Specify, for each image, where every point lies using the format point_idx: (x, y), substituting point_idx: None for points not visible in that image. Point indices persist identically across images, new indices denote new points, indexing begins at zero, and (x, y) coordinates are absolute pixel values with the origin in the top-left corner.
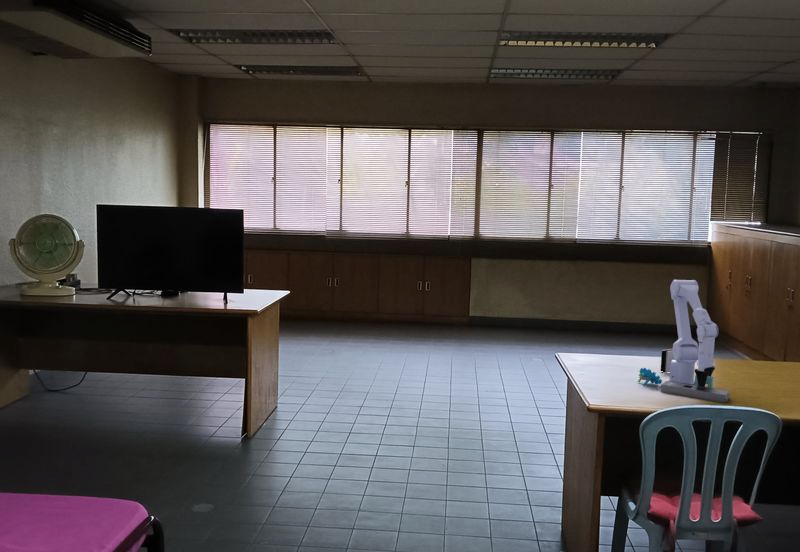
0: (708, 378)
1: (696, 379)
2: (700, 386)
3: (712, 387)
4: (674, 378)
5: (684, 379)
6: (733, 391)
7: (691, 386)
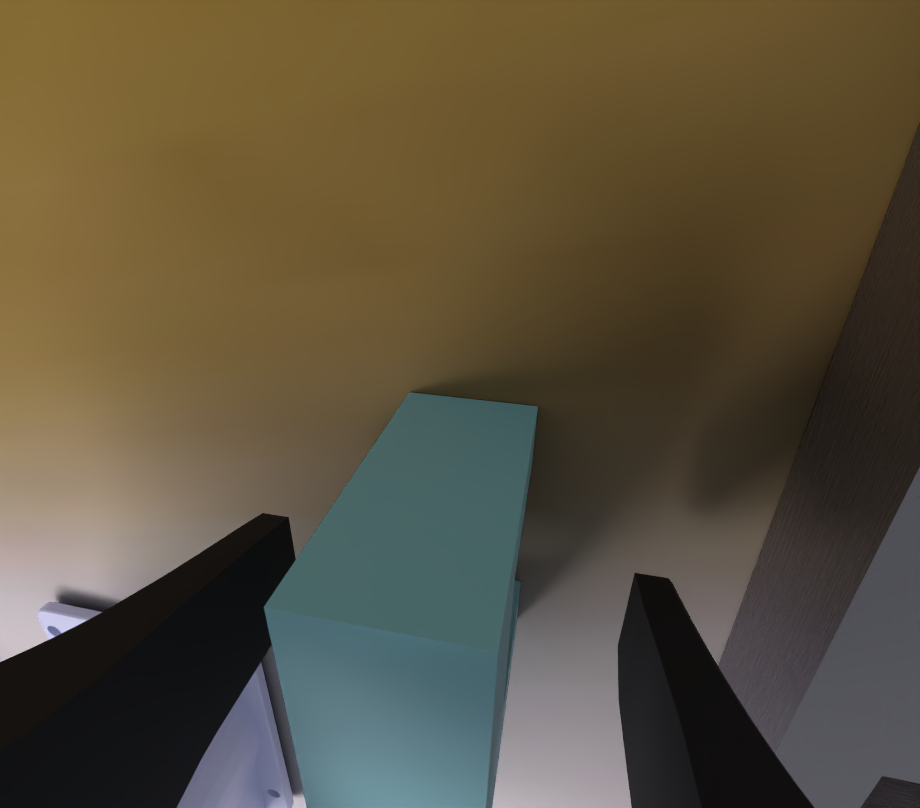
0: (498, 694)
1: (493, 789)
2: (827, 678)
3: (407, 431)
4: (247, 804)
5: (232, 750)
6: (82, 15)
7: (862, 786)
